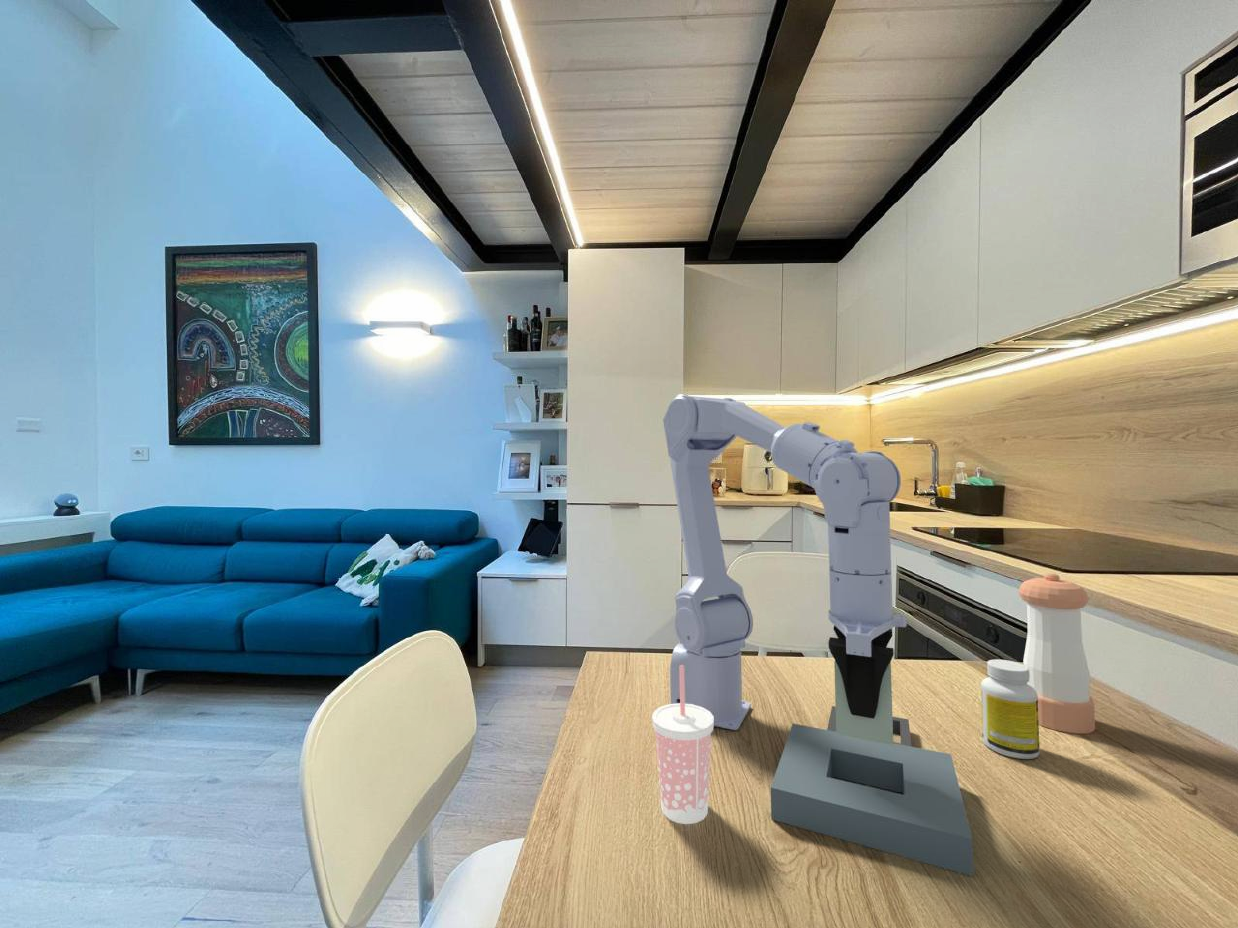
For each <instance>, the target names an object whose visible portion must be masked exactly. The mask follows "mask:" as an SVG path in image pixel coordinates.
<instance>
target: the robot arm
mask: <svg viewBox="0 0 1238 928" xmlns="http://www.w3.org/2000/svg"><path fill="white" fill-rule="evenodd" d="M662 421H663V428H664V433H665V434H664V435H665V440H666V447H667V453H668V457H669V458H670V467H671V473H672V480H673V481H672V482H673V485H674V491H675V499H676V505H677V506H676V507H677V512H678V517H679V518H678V519H679V524H680V525H679V526H680V530H681V537H682V543H683V550H684V554H685V556H684V557H685V562H686V568H687V576H688V580H687V581H686V583H685V584H684V585H683V586H682V588H681V589H679V591H677V593H676V595H675V596H674V599H675V610H676V611H675V617H674V629H675V633H676V636H677V638H678V640H679V642H680V643H677V644H676V645H675V647H674V649H673V651H672V654H671V658H670V668H669V675H670V676H669V678H670V679H669V681H670V683H669V685H670V687H669V688H670V704H676V703H680V669H679V665H684V681H685V704H693V705H697V706H700V707H703V708H705V709H706V710H708V711H710V712H711V714H712V715H713V716H714V723H713V724H714V726H713V727H719V728H722V729H727V730H732V731H738V730H739V728H740V726H741V725H742V723H743V721H744V719H745V717H746V716H747V714H748V713H749V711H750V709H751V703H750V702H748V701H744V700H743V685H742V682H743V681H742V679H743V678H742V675H743V673H742V649H743V648H745V647H746V641H745V640H747V639H748V638H749V637H751V634H752V633H753V629H754V617H753V613H752V611H751V608H750V606H749V604H748V603H747V601H746V598H745V594H744V589H743V587H742V585H740V583H738V582H737V581H736V580H734V578H732V577H730V575H728V573H727V566H726V561H725V555H724V549H723V543H722V538H721V533H720V526H719V521H718V515H717V510H716V504H715V503H716V502H715V498H714V492H713V488H712V487H713V486H712V481H711V480H712V479H711V476H710V470H709V468H710V466H711V464H712V462H713V461H714V460H715V459H717V458H718V457H720V455H721V454H722V453H723V452H724V451H725V450H726V449H727V448H728V447H729V446H730V444H731V443H732V442H733V441H734V440H735V439H736V438H737V437H739V439H742V440H744V441H747V442H749V443H751V444H753V445H755V446H756V447H759V448H761V449H763V450H765V451H768V452H769V453H770V455H771V460H772V464H774V466H775V467H776V468H778V469H779V470H781V471H783V472H784V473H787V474H788V475H790V476H792V477H793V478H795V479H797V480H799V481H800V482H802V483H804V484H805V485H807V486H809V487H810V488H812V489H814V491H815V494H816V496H817V498H818V500H819V501H820V502H821V504H822V506H823V509H824V520H826V523H827V529H828V532H827V533H828V562H829V563H828V565H829V567H828V569H829V570H828V571H829V572H828V573H829V604H830V606H829V607H830V609H829V610H828V615H827V616H828V620H829V621H830V623H831V624H832V625H833V631H834V633H835V635H836V637H831V636H830V637H829V640H828V644H827V645H828V650H829V652H830V654H831V656H832V657H833V659H834V662H835V661H836V663H837V665H838V668H839V670H840V673H841V676H842V679H843V683H844V688H845V693H846V697H847V702H848V706H849V709H850V712H851V714H852V715H856V716H861V717H867V718H872V719H873V718H875V715H876V711H877V707H878V701H879V694H880V688H881V683H882V679H883V676H884V673H885V671H886V669H887V667H888V665H889V663H890V662H891V663H892V659H893V658H894V654H895V653H894V652H895V651H894V648H893V647H888V645H889V643H890V640H891V639H892V637H893V628H895V627H896V628H906V627H907V617H906V616H905V615H903V614H901V615H900V614H893V613H894V612H893V586H892V585H893V583H892V558H891V557H892V556H891V555H892V552H891V551H892V550H891V517H890V515H891V514H890V503H892V501H893V500H894V499H896V497H897V496H898V494H899V491H900V488H901V483H902V480H901V479H902V477H901V473H900V470H899V468H898V466H897V465H896V463H895V462H894V461H893V460H892V459H890V458H889V457H888V456H886V455H885V454H884V453H883V452H882V451H878V450H877V451H876V450H871V451H869V450H868V451H864V452H858V450H857V449H856V448H855V443H854V442H853V441H850V440H848V439H840V440H837V439H835V438H834V437H830V435H826V434H825V433H823V432H820V431H819V430H820V429H821V428H820V427H821V426H820V425H819V424H816V423H815V422H809V421H808V422H807V421H804V422H802V423H793V424H790V425H789V426H786V427H785V426H783V425H781V424H780V423H778V422H777V421H775V420H773V419H771V418H769V417H768V416H766V415H764V414H762V413H760V412H758V411H756V410H755V409H753V408H751V407H749V406H748V405H747V404H746V403H745V402H741V401H736V399H733V398H730V397H729V398H728V397H726V398H715V397H705V396H704V397H702V396H692V395H688V394H677V395H676V396H675V397H673V399H672V400H671V401H670V402H669V405H668V407H667V409H666V412H665V414H664V417H663V419H662ZM713 597H715V599H710V600H706V599H709V598H713ZM716 597H717V598H716Z"/></svg>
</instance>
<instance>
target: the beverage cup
mask: <svg viewBox="0 0 1238 928" xmlns="http://www.w3.org/2000/svg"><path fill="white" fill-rule="evenodd" d="M679 669H680V703H676V704H671V703H669V704H665V705H662V706H659V707H658V708H657V709H655V710H654V711H653V713H652V716H651V720H652V727H653V729H654V731H655V744H656V745H655V746H656V757H657V769H658V780H659V781H658V782H659V795H660V797H659V798H660V807H661V811H662V813H663V815H664V816H665V818H667V819H668V820H669V821H672V822H674V823H676V824H682V825H683V824H684V825H691V824H692V825H693V824H697V823H699V822H702V821H703V820H704V819H705V818H707V816H708V812H709V795H710V794H709V792H710V791H709V790H710V789H709V788H710V769H711V768H710V767H711V766H710V764H711V763H710V762H711V743H712V742H711V738H712V735H711V734H712V733H713V731H714V727H715V726H714V724H713V723H714V716H713V715H712V714H711V712H710V711H708V710H706V709H705V708H703V707H700V706H697V705H693V704H685V681H684V665H679Z"/></svg>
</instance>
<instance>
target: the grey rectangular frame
mask: <svg viewBox="0 0 1238 928" xmlns="http://www.w3.org/2000/svg"><path fill="white" fill-rule="evenodd" d="M892 718H893V733H897V734H899V735H900V736H899V737H900V742H895V741H893V743H896V744H901V745H906V746H911V747H913V746H912V738H911V730H910V722H909V718H904V717H903V718H902V717H897V716H892ZM826 730H829V731H834V732H836V705H835V706H834V705H832V706H831V708H830V715H829V719H828V724H827V727H826Z"/></svg>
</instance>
